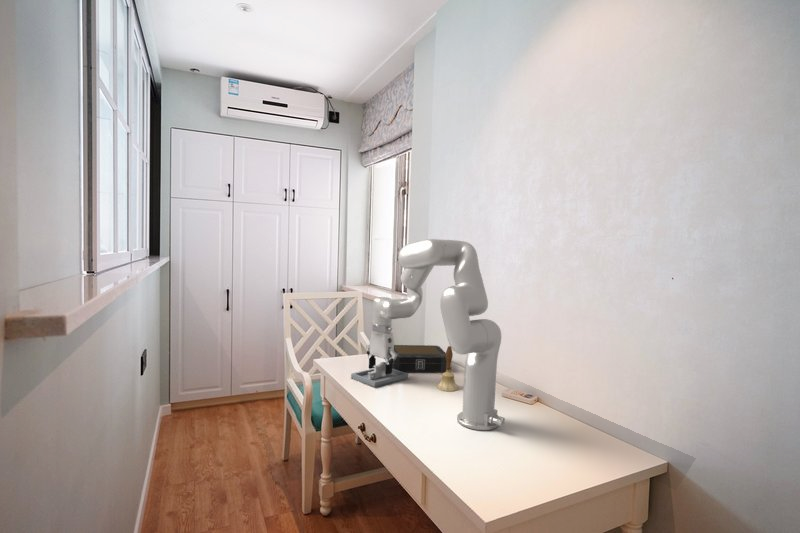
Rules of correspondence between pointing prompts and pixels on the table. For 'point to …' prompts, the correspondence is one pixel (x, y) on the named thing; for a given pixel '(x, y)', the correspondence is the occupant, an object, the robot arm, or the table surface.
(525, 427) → the table surface
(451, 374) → the hand bell
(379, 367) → the white toothed rack
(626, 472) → the table surface
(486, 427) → the robot arm
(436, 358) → the cash box
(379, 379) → the tray
